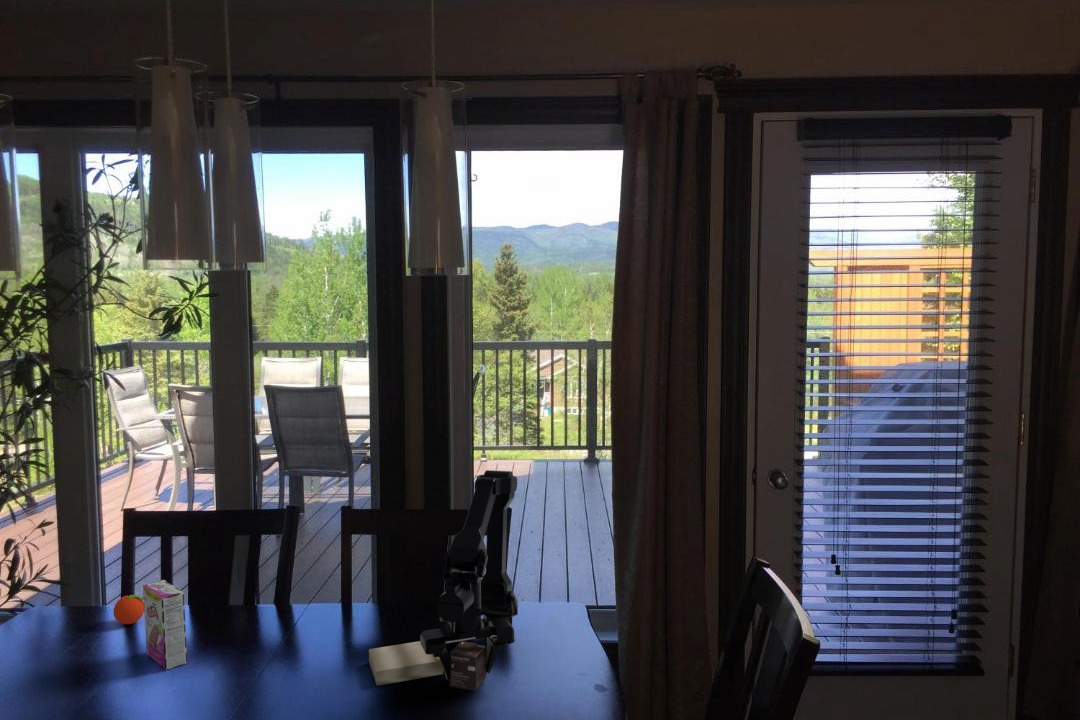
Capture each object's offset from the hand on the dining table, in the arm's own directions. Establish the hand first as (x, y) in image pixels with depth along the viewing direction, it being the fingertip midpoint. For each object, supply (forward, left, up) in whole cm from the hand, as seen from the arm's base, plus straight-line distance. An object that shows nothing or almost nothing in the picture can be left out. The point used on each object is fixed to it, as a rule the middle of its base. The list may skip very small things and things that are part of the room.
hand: (468, 675), depth 161 cm
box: (0, 0, -2) cm, 2 cm away
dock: (+11, -11, -2) cm, 16 cm away
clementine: (+70, -59, -2) cm, 92 cm away
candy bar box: (+60, -34, -2) cm, 69 cm away
